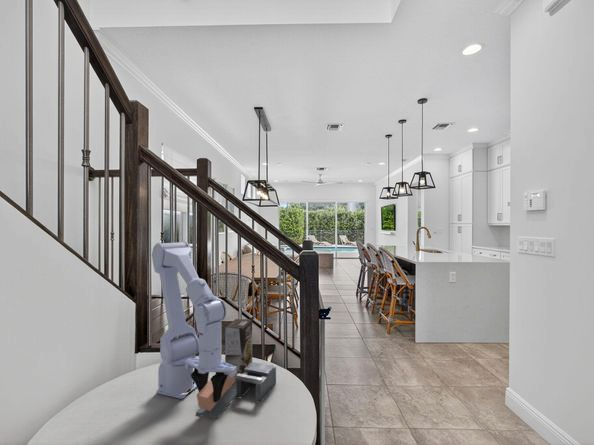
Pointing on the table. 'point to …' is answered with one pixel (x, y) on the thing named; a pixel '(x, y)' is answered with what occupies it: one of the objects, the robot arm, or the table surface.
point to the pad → (219, 405)
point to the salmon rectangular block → (211, 394)
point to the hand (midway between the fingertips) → (210, 398)
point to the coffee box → (238, 344)
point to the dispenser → (256, 380)
